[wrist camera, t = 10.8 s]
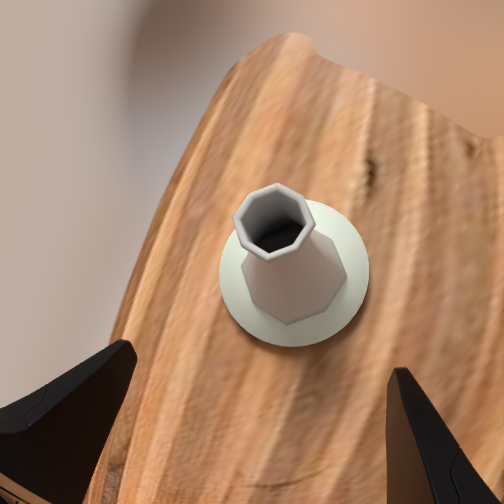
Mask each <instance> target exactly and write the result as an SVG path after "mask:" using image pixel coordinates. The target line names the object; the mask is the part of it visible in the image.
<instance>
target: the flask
mask: <svg viewBox="0 0 504 504" xmlns="http://www.w3.org/2000/svg"><path fill="white" fill-rule="evenodd" d="M232 220H233V224H234V227H235V230H236V233H237V236H238V239H239V242H240V245H241V247H242V248H244V249H245V250H247V251H248V254H247V256H246V258H245V260H244V261H243V263H242V265H241V268H242V271H243V275H244V278H245V281H246V284H247V287H248V290H249V293H250V296H251V299H252V302H253V304H255V305H256V306H258V307H259V308H261V309H262V310H264V311H265V312H266V313H268V314H269V315H271V316H272V317H274V318H275V319H277V320H278V321H280V322H281V323H283V324H284V325H286V326H287V325H290V324H293V323H296V322H298V321H301V320H304V319H307V318H309V317H312V316H315V315H317V314H320V313H322V312H325V311H326V310H327V308H328V307H329V305H330V304H331V302H332V301H333V299H334V297H335V296H336V294H337V293H338V291H339V289H340V288H341V286H342V284H343V283H344V281H345V280H346V278H347V274H346V271H345V269H344V266H343V264H342V261H341V259H340V256H339V254H338V252H337V249H336V247H335V245H334V242H333V240H332V239H331V238H329V237H327V236H325V235H324V234H322V233H320V232H319V231H317V230H315V229H314V228H315V226H316V223H315V221H314V218H313V216H312V214H311V212H310V209H309V207H308V205H307V203H306V200H305V198H304V196H302V195H300V194H299V193H297V192H295V191H293V190H291V189H289V188H287V187H285V186H283V185H281V184H279V183H275V184H273V185H270V186H267V187H265V188H262V189H260V190H257V191H255V192H252V193H250V194H249V195H248V196H247V197H246V199H245V200H244V201H243V203H242V204H241V206H240V207H239V208H238V210H237V211H236V213H235V214H234V215H233V217H232Z"/></svg>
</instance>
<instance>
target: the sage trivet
mask: <svg viewBox="0 0 504 504" xmlns="http://www.w3.org/2000/svg"><path fill="white" fill-rule="evenodd" d="M306 203H307V205H308V207H309V209H310V212H311V214H312V216H313V218H314V221H315V223H316V226H315V228H314V229H315V230H317V231H319V232H320V233H322V234H324V235H325V236H327V237H329V238H331V239H332V240H333V242H334V245H335V247H336V249H337V252H338V254H339V256H340V259H341V261H342V264H343V266H344V269H345V271H346V274H347V278H346V280H345V281H344V283H343V284H342V286H341V288H340V289H339V291H338V293H337V294H336V296H335V297H334V299H333V301H332V302H331V304H330V305H329V307H328V308H327V310H326V311H325V312H322V313H320V314H317V315H315V316H312V317H309V318H307V319H304V320H301V321H298V322H296V323H293V324H290V325H287V326H286V325H284V324H283V323H281V322H280V321H278V320H277V319H275V318H274V317H272V316H271V315H269V314H268V313H266V312H265V311H264V310H262V309H261V308H259V307H258V306H256V305H255V304H253V302H252V299H251V296H250V293H249V290H248V287H247V284H246V281H245V278H244V275H243V271H242V268H241V265H242V263H243V261H244V260H245V258H246V256H247V254H248V251H247V250H245V249H244V248H242V247H241V245H240V242H239V239H238V236H237V233H236V230H235V229H234V231H233V232H232V234H231V235H230V237H229V239H228V241H227V243H226V245H225V247H224V250H223V253H222V257H221V261H220V269H219V280H220V287H221V293H222V296H223V299H224V302H225V304H226V306H227V308H228V310H229V311H230V313H231V315H232V316H233V318H234V319H235V320H236V321H237V322H238V323H239V325H240V326H242V327H243V328H244V329H245V330H246V331H247V332H249V333H250V334H252V335H253V336H255V337H256V338H258V339H261V340H263V341H265V342H268V343H271V344H274V345H279V346H286V347H298V346H307V345H311V344H315V343H318V342H320V341H323V340H325V339H327V338H329V337H331V336H333V335H334V334H336V333H337V332H338V331H340V330H341V329H342V328H344V327H345V326H346V325H347V324H348V323H349V322H350V321H351V319H352V318H353V317H354V315H355V314H356V313H357V311H358V309H359V308H360V306H361V304H362V302H363V299H364V297H365V294H366V291H367V287H368V280H369V262H368V256H367V252H366V249H365V246H364V243H363V241H362V239H361V237H360V235H359V234H358V232H357V231H356V229H355V228H354V227H353V225H352V224H351V223H350V222H349V221H348V220H347V219H346V218H345V217H344V216H343V215H342V214H340V213H339V212H337V211H336V210H334V209H332V208H330V207H329V206H327V205H324V204H321V203H319V202H315V201H311V200H306Z"/></svg>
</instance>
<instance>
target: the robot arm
mask: <svg viewBox="0 0 504 504" xmlns="http://www.w3.org/2000/svg"><path fill="white" fill-rule="evenodd" d="M136 363H137V354H136V352H135V350H134V348H133V346H132V344H131V342H130V341H128V340H123V339H119V340H117V341H116V342H114V343H112V344H111V345H109V346H108V347H106V348H104V349H103V350H101V351H100V352H98V353H96V354H95V355H93V356H91V357H90V358H88V359H87V360H85V361H84V362H82V363H80V364H79V365H77V366H75V367H74V368H72V369H70V370H69V371H67V372H66V373H64V374H62V375H61V376H59V377H57V378H56V379H54V380H53V381H51V382H49V383H48V384H46V385H45V386H43V387H41V388H40V389H38V390H36V391H35V392H33V393H31V394H29V395H27V396H25V397H23V398H21V399H19V400H17V401H15V402H13V403H11V404H9V405H7V406H5V407H3V408H0V504H82V503H83V500H84V498H85V495H86V492H87V489H88V487H89V484H90V481H91V479H92V478H91V477H92V476H93V473H94V471H95V468H96V466H97V463H98V460H99V458H100V455H101V453H102V450H103V448H104V446H105V443H106V441H107V438H108V436H109V433H110V431H111V429H112V426H113V424H114V422H115V419H116V417H117V415H118V412H119V410H120V408H121V405H122V403H123V401H124V398H125V396H126V393H127V391H128V388H129V384H130V381H131V378H132V375H133V372H134V369H135V366H136ZM385 431H386V454H387V504H502V503H501V502H500V501H499V500H498V499H497V498H496V496H495V495H494V494H493V492H492V491H491V490H490V488H489V487H488V486H487V485H486V483H485V482H484V481H483V480H482V478H481V477H480V476H479V474H478V473H477V472H476V470H475V469H474V467H473V466H472V464H471V463H470V461H469V460H468V458H467V457H466V455H465V454H464V452H463V450H462V449H461V448H459V447H460V446H459V444H458V443H457V441H456V439H455V438H454V436H453V435H452V433H451V432H450V430H449V428H448V427H447V425H446V424H445V422H444V421H443V419H442V418H441V416H440V415H439V413H438V412H437V410H436V409H435V407H434V406H433V404H432V403H431V401H430V400H429V398H428V397H427V395H426V394H425V392H424V391H423V390H422V388H421V387H420V385H419V384H418V382H417V381H416V380H415V378H414V377H413V375H412V374H411V372H410V371H409V370H408V368H406V367H396V368H394V370H393V372H392V374H391V377H390V379H389V382H388V385H387V407H386V430H385Z"/></svg>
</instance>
